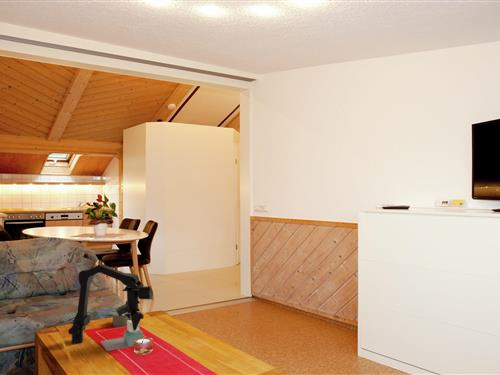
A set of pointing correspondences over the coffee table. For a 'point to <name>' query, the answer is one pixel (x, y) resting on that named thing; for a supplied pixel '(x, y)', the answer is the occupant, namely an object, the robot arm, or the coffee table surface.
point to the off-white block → (131, 326)
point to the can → (119, 320)
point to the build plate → (123, 340)
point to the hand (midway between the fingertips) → (133, 328)
